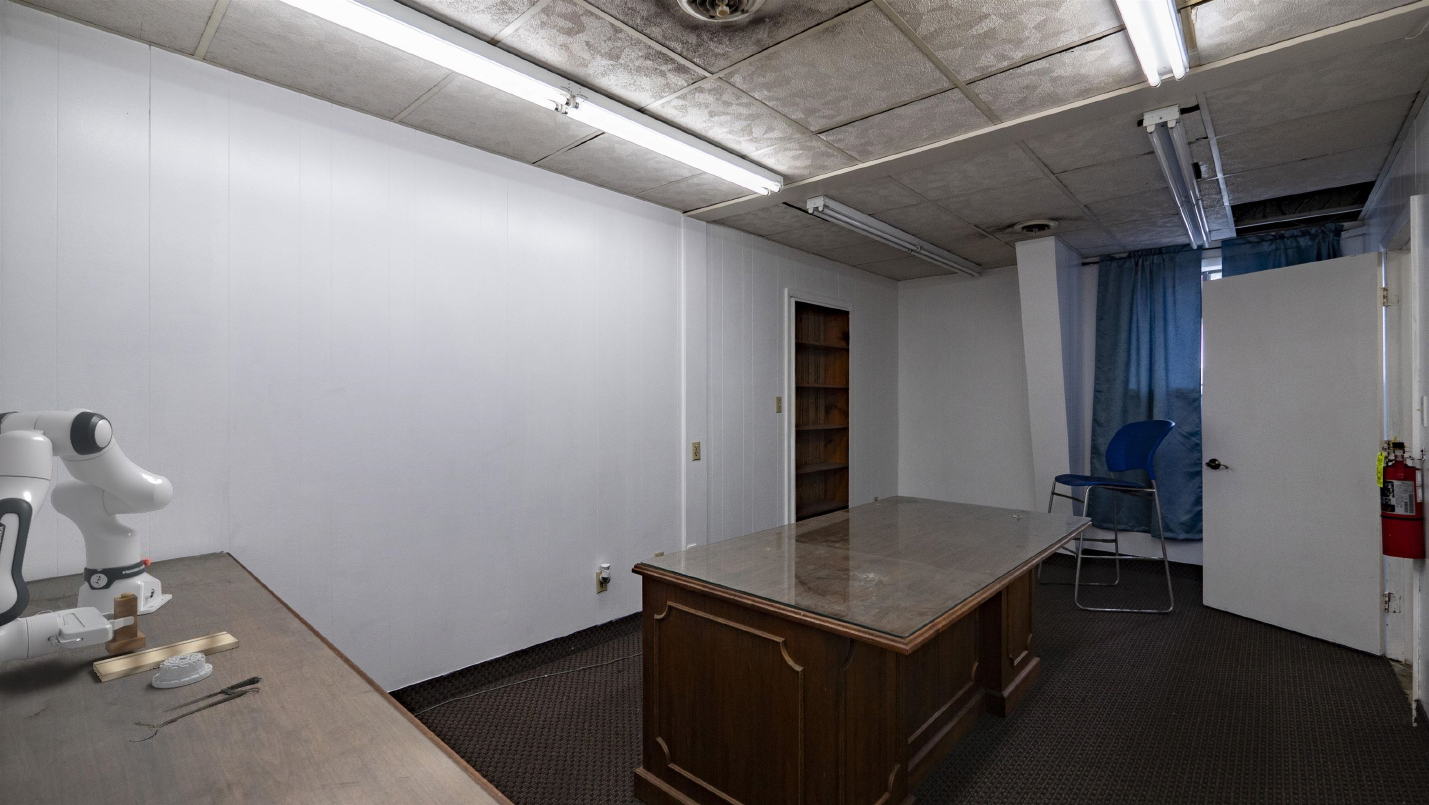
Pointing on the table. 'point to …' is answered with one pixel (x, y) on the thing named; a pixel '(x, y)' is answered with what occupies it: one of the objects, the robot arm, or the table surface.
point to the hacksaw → (226, 690)
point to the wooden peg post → (125, 627)
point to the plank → (162, 655)
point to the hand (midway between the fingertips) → (130, 617)
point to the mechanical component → (182, 671)
